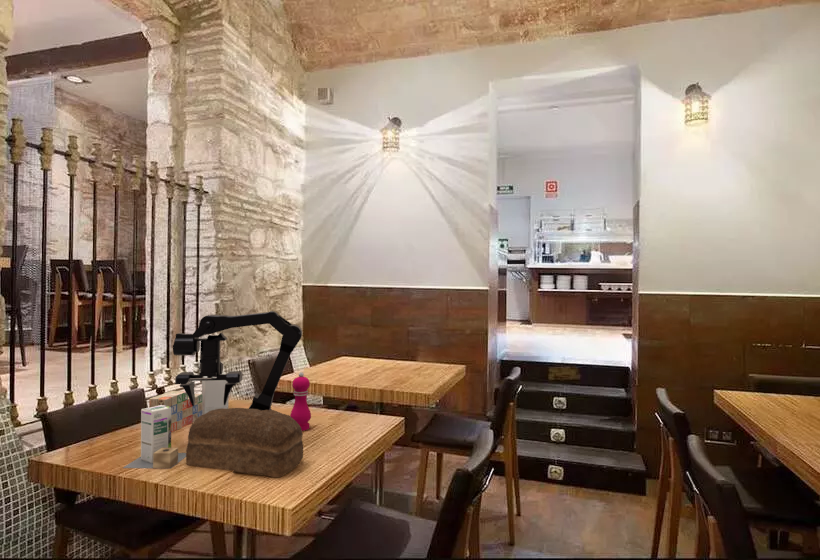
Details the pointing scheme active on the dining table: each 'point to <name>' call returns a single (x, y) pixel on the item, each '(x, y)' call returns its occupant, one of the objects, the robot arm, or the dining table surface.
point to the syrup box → (155, 430)
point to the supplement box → (213, 395)
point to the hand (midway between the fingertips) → (209, 405)
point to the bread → (245, 441)
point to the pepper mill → (301, 402)
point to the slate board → (144, 464)
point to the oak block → (165, 458)
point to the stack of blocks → (179, 407)
